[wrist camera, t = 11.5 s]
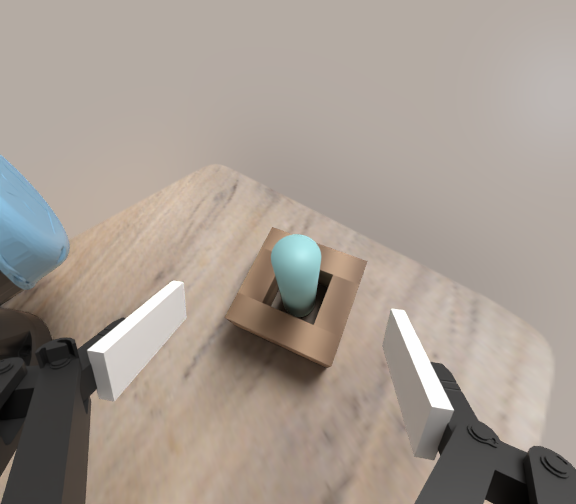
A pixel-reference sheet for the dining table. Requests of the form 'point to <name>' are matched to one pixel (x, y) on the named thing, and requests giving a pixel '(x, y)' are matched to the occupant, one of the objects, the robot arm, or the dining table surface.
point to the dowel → (297, 272)
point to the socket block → (286, 328)
